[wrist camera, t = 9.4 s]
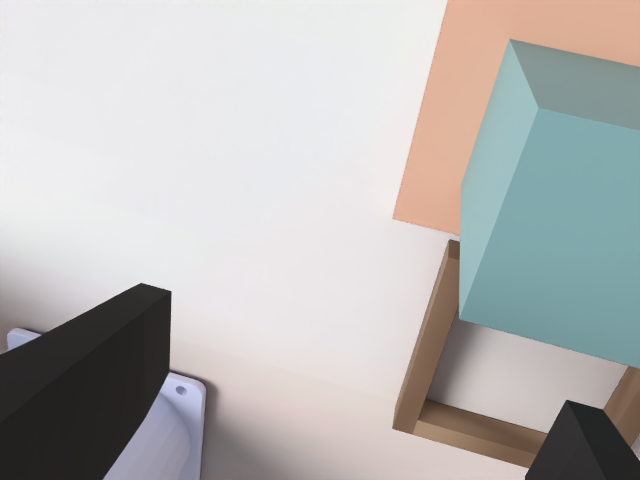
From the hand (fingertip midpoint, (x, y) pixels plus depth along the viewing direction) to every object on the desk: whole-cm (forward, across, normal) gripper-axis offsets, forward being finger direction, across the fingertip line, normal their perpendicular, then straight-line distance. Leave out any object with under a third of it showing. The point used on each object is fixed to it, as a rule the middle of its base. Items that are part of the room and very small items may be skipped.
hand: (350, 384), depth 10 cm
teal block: (+9, -4, -3) cm, 10 cm away
